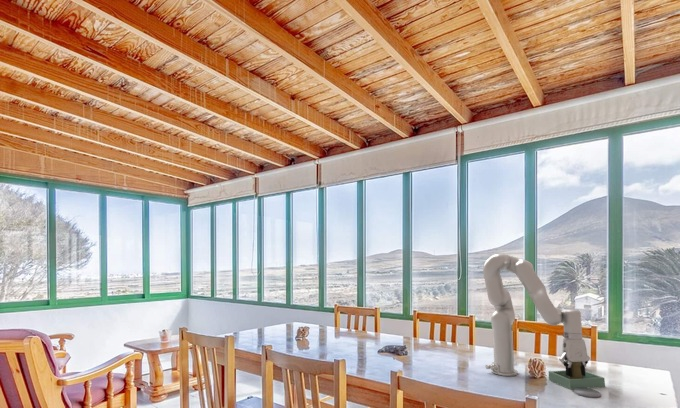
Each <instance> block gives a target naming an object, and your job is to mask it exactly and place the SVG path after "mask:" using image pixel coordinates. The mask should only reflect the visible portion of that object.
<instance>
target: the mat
mask: <svg viewBox="0 0 680 408" xmlns="http://www.w3.org/2000/svg"><path fill="white" fill-rule="evenodd" d="M573 392H574V394H576V395H577V396H579V397H584V398H590V399H597V398H601V397H602V392H600V391H598V390H596V389H594V388H575V389H573Z"/></svg>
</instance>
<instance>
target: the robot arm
mask: <svg viewBox="0 0 680 408" xmlns="http://www.w3.org/2000/svg"><path fill="white" fill-rule="evenodd" d="M483 264H484V265H483V271H482V272H483V278H484V283H485V287H486V288H485V289H486V293H487V298H488V302H489V303H490V304H491V305H492V306H493V308H494V312H493V313H491V314H492V315H491V318H490V323H491V330H492V342H493V343H492V344H493V362H491V364H485V365H484V366H485V367H484V368H485V370H491V373H493V374H495V375H496V376H497V375H498V376H503V377H512V376H517V375H518V374H519V372H518V370H517V369H515V358H514V357H515V356H514V354H515V353H514V340H513V339H514V337H513V335H514V334H513V329H512V325H513V323H514V322H515V320H516V314H515V310H514V305H513V301H512V297H511V295H510V292H509V291H508V289H507V288H505V287H504V284H503V279H502V276H501V271H506V272H509V273H512V274H514V275H515V276H516V277H517V278H518V281H520V282H521V285H522V286H523V288H524V289H525V291H526V292H527V294H528V296H529V297H530V299H531V301H532V302H533V304H534V306H535V308H536V310H537V311H538V313H539V315H540V316H541V318H542V319H543V321H544V322H545V323H547V325H549V326H558V325H559V324H563V334H562V337H563V340H562V348H561V349H562V352H561V353H562V355H561V356H560V357H559V358H558V359H559V361H560V362H561V364H562V365H563V366H564V367H565V370H566V375H567V376H570V377H572V368H570V367H571V363H572V362H581V367H580V369H581V374H582V375H583V376H585V371H586V368H587V364H588V363H589V361H590V360H591V357H590V356H589V355H588V351H587V350H588V349H587V345H586V341H585V339H584V338H583V330H582V328H583V326H582V315H581V312H580V310H579V309H574V308H573V309H572V308H560V307H556V306H555V305H554V303H553V302H552V301H551V299H550V297H549V295H548V292H547V289H546V285H544V283H543V282H542V280H541V279H540V277H539V276H538V274H537V273H536V271H535V270H534V265H533V264H532V262H530V261H528V260H526V259H523V258H519V257H516V256H511V255H509V254H505V253H497V254H496V253H495V254H493V255H491V256H489V258H488V259H486V261H485V262H484V263H483ZM568 362H569V363H568Z"/></svg>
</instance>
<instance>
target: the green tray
mask: <svg viewBox="0 0 680 408" xmlns="http://www.w3.org/2000/svg"><path fill="white" fill-rule="evenodd" d="M582 378H583V379H569V376H567V375H566V369H565V370H552V371H551V370H549V371H548V381H550V382H552V381H553V383H555V384H557V385H559V386H562V387H563V388H566V389H568V390H574V389H575V388H589V389H594V388H595V389H596V388H606V383H605V382H606V381H605V377H603V376H601V375H598V374H596V373H592V372H590V371H587V370H585V376H583V375H582Z"/></svg>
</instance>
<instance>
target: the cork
mask: <svg viewBox="0 0 680 408" xmlns="http://www.w3.org/2000/svg"><path fill="white" fill-rule="evenodd" d="M580 367H581V362H572V363H571V367H570V368H572V377H570V376H569V379H583V378H582V374H581V369H580Z"/></svg>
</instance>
